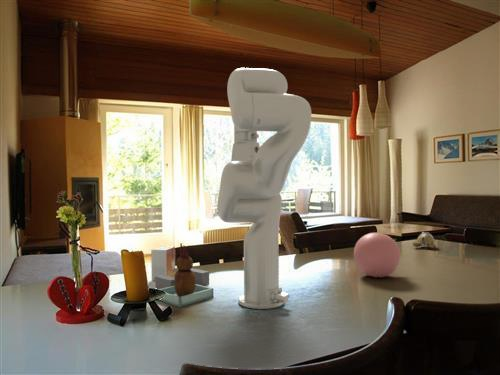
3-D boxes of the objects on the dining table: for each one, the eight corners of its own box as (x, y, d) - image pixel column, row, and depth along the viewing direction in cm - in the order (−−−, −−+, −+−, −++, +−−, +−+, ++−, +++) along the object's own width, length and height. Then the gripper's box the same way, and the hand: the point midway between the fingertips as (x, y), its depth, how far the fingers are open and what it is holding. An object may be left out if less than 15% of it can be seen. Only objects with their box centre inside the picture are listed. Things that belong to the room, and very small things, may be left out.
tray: (213, 297, 115) (213, 288, 115) (180, 307, 105) (179, 297, 105) (188, 290, 122) (188, 282, 122) (154, 299, 113) (154, 290, 113)
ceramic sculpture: (438, 229, 203) (435, 234, 190) (438, 246, 203) (435, 252, 190) (415, 228, 208) (411, 233, 195) (416, 244, 209) (411, 250, 196)
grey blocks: (209, 283, 130) (209, 271, 130) (171, 293, 118) (171, 280, 118) (193, 280, 135) (192, 268, 135) (155, 289, 123) (154, 276, 123)
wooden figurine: (172, 294, 116) (172, 242, 116) (192, 292, 118) (191, 241, 118) (176, 300, 109) (176, 246, 109) (197, 298, 111) (197, 244, 111)
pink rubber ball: (415, 275, 140) (415, 231, 140) (384, 284, 127) (384, 236, 127) (376, 268, 152) (376, 228, 152) (344, 276, 139) (344, 232, 139)
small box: (166, 281, 134) (166, 250, 133) (151, 280, 135) (150, 249, 135) (175, 275, 141) (175, 246, 141) (161, 275, 143) (160, 245, 142)
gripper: (273, 137, 128) (273, 190, 128) (234, 141, 140) (234, 190, 140) (258, 135, 122) (258, 191, 123) (219, 139, 134) (219, 190, 134)
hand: (245, 190), depth 131 cm, fingers open, 9 cm apart
